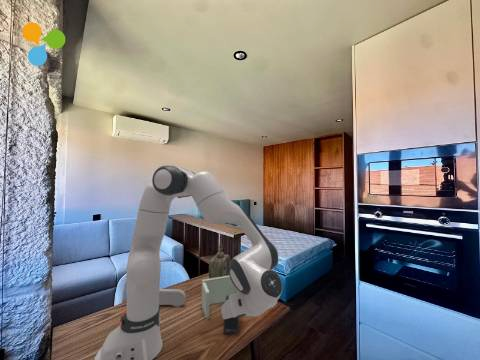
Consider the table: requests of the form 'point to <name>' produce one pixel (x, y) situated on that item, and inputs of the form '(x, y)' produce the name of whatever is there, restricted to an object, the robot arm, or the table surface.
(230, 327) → the small box
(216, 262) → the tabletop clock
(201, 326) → the table surface
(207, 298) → the rack
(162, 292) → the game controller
